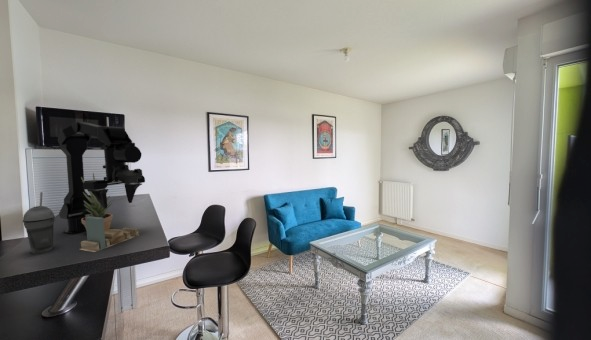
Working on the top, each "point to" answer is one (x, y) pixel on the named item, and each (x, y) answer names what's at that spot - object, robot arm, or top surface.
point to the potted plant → (97, 209)
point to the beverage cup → (39, 228)
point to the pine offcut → (113, 233)
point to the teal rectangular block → (95, 230)
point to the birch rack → (94, 246)
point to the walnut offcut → (117, 239)
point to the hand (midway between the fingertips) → (118, 205)
